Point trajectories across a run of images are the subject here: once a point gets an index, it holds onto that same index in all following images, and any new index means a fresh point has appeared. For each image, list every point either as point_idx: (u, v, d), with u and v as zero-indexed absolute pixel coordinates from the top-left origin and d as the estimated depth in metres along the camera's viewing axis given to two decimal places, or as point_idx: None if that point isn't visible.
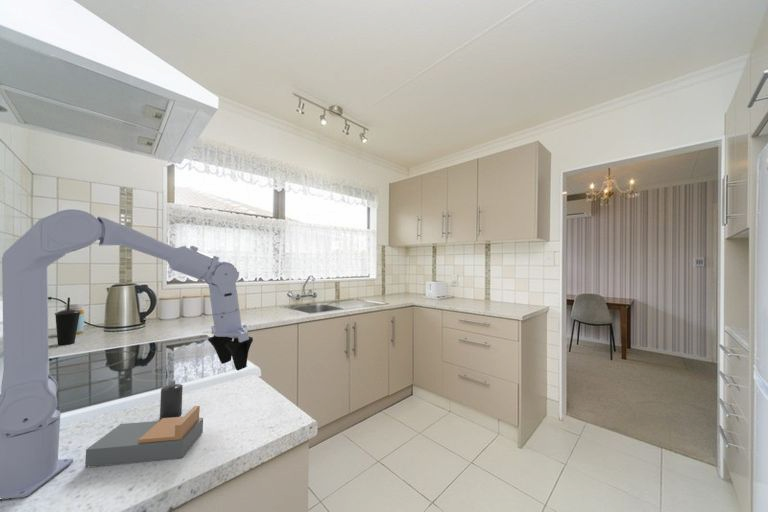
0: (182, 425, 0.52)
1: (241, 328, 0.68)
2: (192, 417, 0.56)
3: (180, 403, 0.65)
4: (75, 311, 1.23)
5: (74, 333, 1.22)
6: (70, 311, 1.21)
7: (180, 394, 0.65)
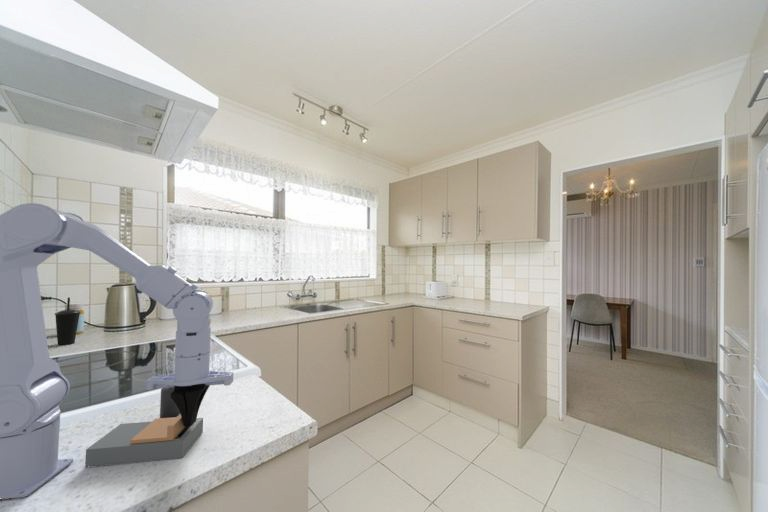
0: (174, 426, 0.51)
1: (210, 372, 0.57)
2: None
3: None
4: (75, 311, 1.23)
5: (74, 333, 1.22)
6: (70, 311, 1.21)
7: None
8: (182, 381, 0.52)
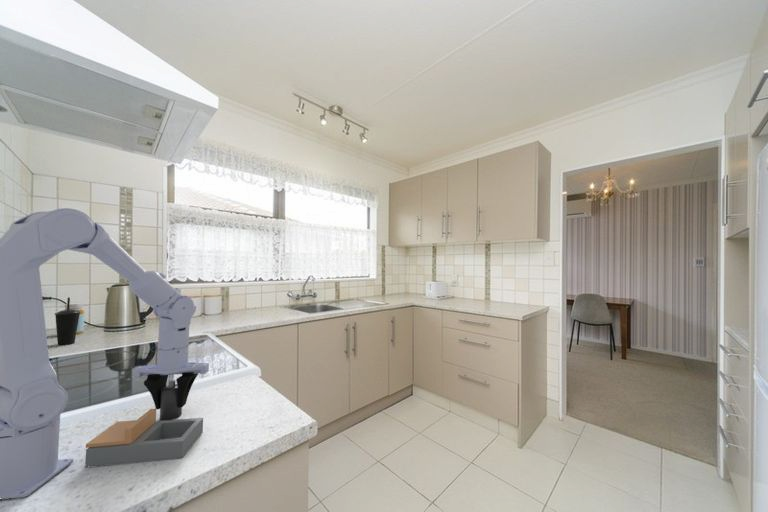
0: (133, 429, 0.50)
1: (189, 363, 0.67)
2: (147, 420, 0.54)
3: None
4: (75, 311, 1.23)
5: (74, 333, 1.22)
6: (70, 311, 1.21)
7: None
8: (164, 370, 0.62)
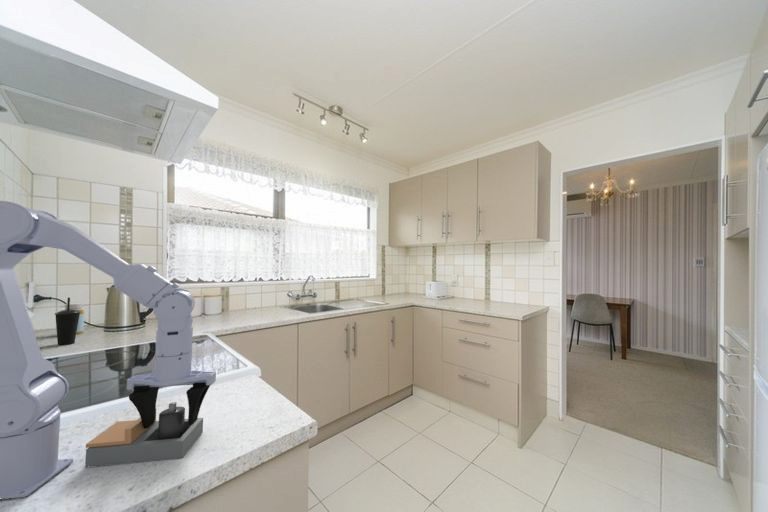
0: (133, 429, 0.50)
1: (192, 372, 0.57)
2: None
3: (183, 430, 0.55)
4: (75, 311, 1.23)
5: (74, 333, 1.22)
6: (70, 311, 1.21)
7: (182, 419, 0.54)
8: (162, 381, 0.52)
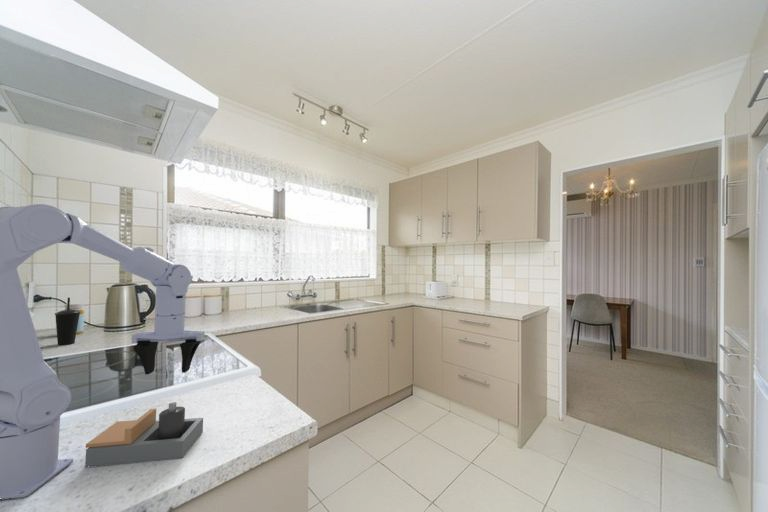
0: (132, 429, 0.50)
1: (185, 331, 0.69)
2: (147, 420, 0.54)
3: (183, 430, 0.55)
4: (75, 311, 1.23)
5: (74, 333, 1.22)
6: (70, 311, 1.21)
7: (182, 419, 0.54)
8: (160, 335, 0.64)
